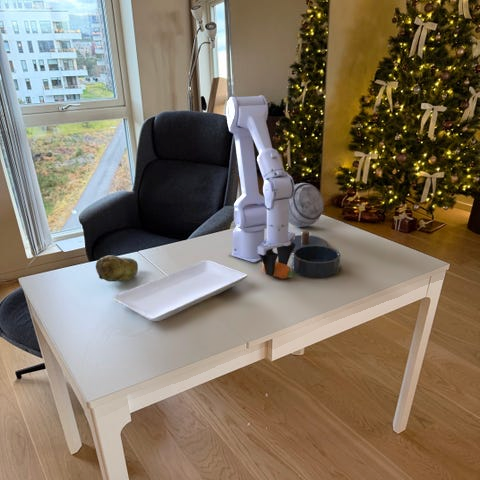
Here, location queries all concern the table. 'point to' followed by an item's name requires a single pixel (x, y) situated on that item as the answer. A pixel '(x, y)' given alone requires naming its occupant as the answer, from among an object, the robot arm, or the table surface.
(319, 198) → the decorative orb
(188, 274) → the tray
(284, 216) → the robot arm
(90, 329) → the table surface
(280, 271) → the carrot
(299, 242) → the lid
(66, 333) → the table surface
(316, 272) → the pan
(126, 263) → the potato
